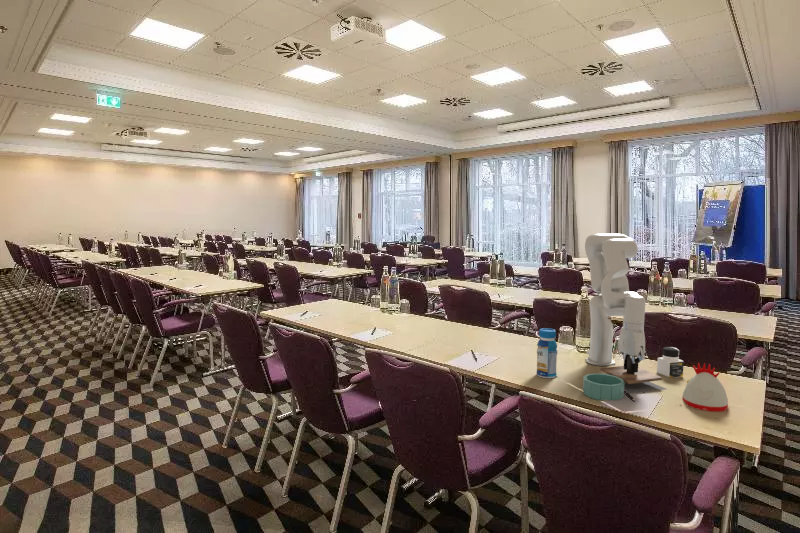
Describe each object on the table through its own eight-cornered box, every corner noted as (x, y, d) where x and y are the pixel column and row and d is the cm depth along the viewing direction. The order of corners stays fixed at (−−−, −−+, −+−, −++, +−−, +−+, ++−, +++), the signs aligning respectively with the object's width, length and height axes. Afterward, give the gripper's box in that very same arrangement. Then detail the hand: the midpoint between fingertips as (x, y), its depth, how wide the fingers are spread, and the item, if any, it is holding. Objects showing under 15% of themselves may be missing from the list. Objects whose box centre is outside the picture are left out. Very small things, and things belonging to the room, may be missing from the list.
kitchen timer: (686, 394, 186) (688, 356, 185) (729, 403, 177) (732, 362, 176) (679, 405, 175) (681, 364, 174) (725, 414, 167) (727, 372, 165)
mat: (597, 380, 203) (597, 378, 202) (633, 376, 207) (633, 375, 207) (628, 395, 185) (628, 393, 185) (667, 390, 190) (667, 389, 190)
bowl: (575, 390, 191) (576, 375, 190) (606, 386, 194) (606, 372, 194) (599, 403, 177) (600, 387, 177) (631, 399, 181) (632, 383, 180)
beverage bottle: (557, 379, 204) (559, 332, 202) (536, 378, 205) (538, 331, 203) (555, 373, 212) (556, 328, 210) (535, 372, 213) (536, 327, 212)
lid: (600, 370, 202) (601, 354, 201) (632, 367, 207) (633, 351, 206) (628, 384, 187) (629, 366, 186) (662, 380, 191) (663, 362, 190)
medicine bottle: (669, 378, 204) (670, 350, 203) (656, 373, 211) (657, 346, 210) (683, 377, 206) (684, 349, 205) (669, 372, 213) (671, 345, 212)
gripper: (611, 322, 201) (609, 365, 203) (640, 332, 185) (637, 378, 188) (626, 320, 203) (624, 363, 205) (656, 330, 188) (653, 376, 190)
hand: (630, 370), depth 197 cm, fingers closed on lid, 3 cm apart
